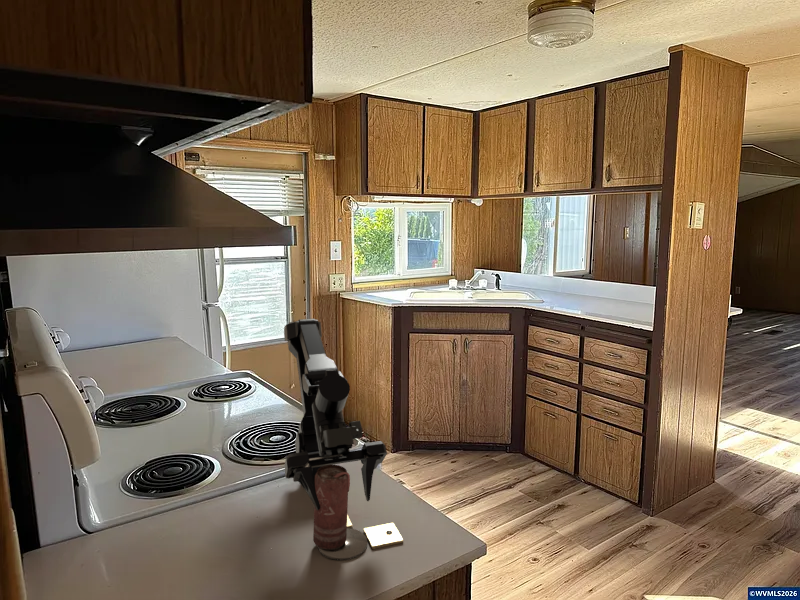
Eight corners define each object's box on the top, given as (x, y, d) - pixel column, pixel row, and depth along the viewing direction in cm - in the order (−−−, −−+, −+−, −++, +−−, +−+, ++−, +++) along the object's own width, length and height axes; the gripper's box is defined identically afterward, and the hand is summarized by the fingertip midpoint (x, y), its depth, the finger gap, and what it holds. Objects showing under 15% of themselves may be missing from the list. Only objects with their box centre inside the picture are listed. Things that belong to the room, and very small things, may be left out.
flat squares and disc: (308, 518, 111) (308, 515, 111) (381, 505, 116) (381, 502, 116) (323, 564, 97) (323, 561, 96) (405, 547, 101) (405, 543, 101)
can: (347, 551, 99) (350, 479, 97) (312, 551, 99) (314, 479, 96) (347, 531, 105) (350, 463, 103) (314, 531, 105) (315, 463, 102)
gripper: (284, 412, 99) (295, 500, 90) (383, 400, 105) (403, 482, 96) (280, 437, 107) (290, 519, 99) (372, 424, 113) (389, 501, 105)
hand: (343, 505), depth 99 cm, fingers open, 9 cm apart
